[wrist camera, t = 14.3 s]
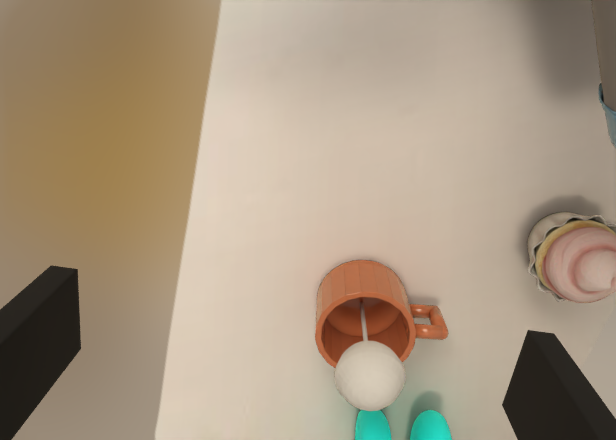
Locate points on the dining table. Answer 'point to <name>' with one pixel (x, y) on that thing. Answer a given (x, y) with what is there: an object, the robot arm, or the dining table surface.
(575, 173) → the dining table surface
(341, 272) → the mug
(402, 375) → the lollipop
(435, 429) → the donuts
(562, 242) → the cupcake
